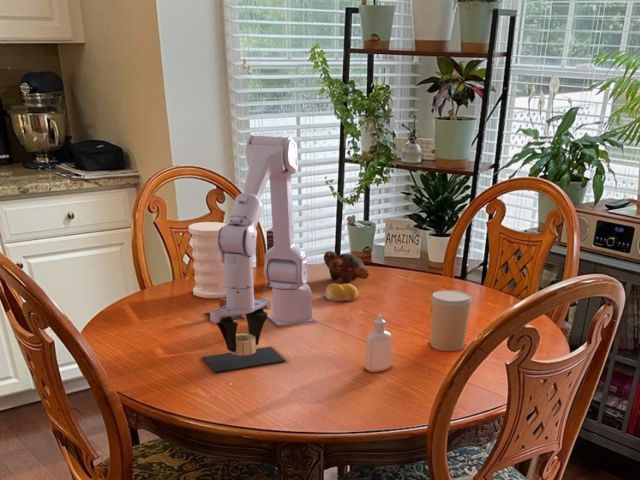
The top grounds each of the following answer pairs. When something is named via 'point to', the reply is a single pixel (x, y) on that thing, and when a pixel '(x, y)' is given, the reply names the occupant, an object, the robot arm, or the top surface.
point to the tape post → (222, 303)
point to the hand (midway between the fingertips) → (243, 347)
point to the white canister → (449, 319)
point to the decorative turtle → (345, 266)
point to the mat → (243, 360)
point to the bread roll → (341, 292)
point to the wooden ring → (245, 344)
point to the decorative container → (207, 260)
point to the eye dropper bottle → (378, 347)
